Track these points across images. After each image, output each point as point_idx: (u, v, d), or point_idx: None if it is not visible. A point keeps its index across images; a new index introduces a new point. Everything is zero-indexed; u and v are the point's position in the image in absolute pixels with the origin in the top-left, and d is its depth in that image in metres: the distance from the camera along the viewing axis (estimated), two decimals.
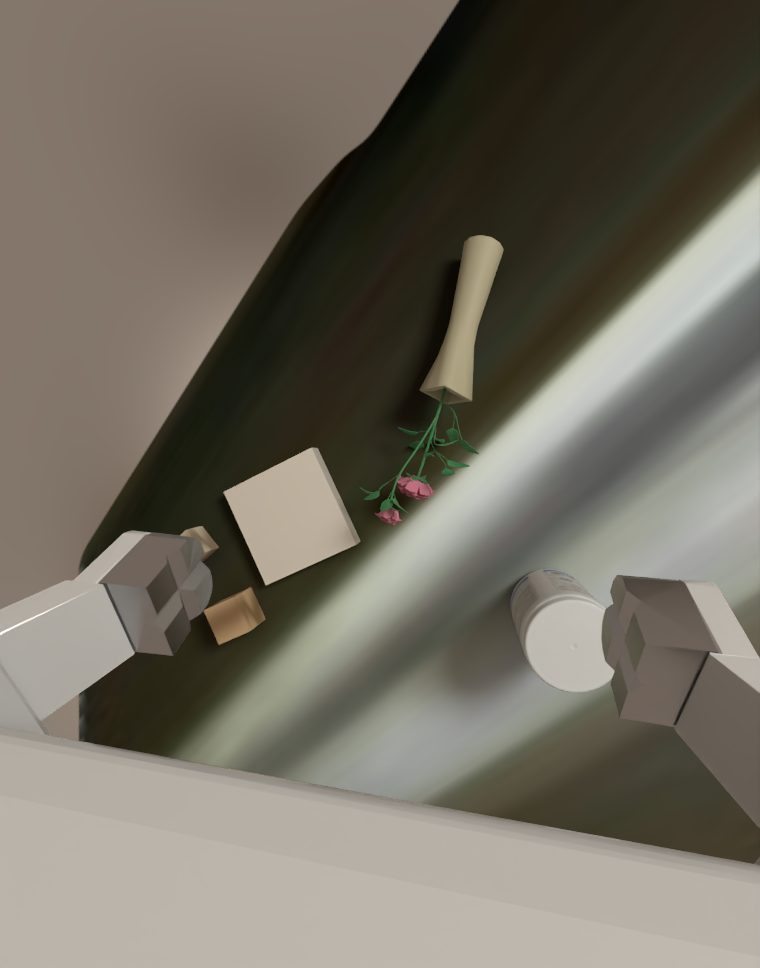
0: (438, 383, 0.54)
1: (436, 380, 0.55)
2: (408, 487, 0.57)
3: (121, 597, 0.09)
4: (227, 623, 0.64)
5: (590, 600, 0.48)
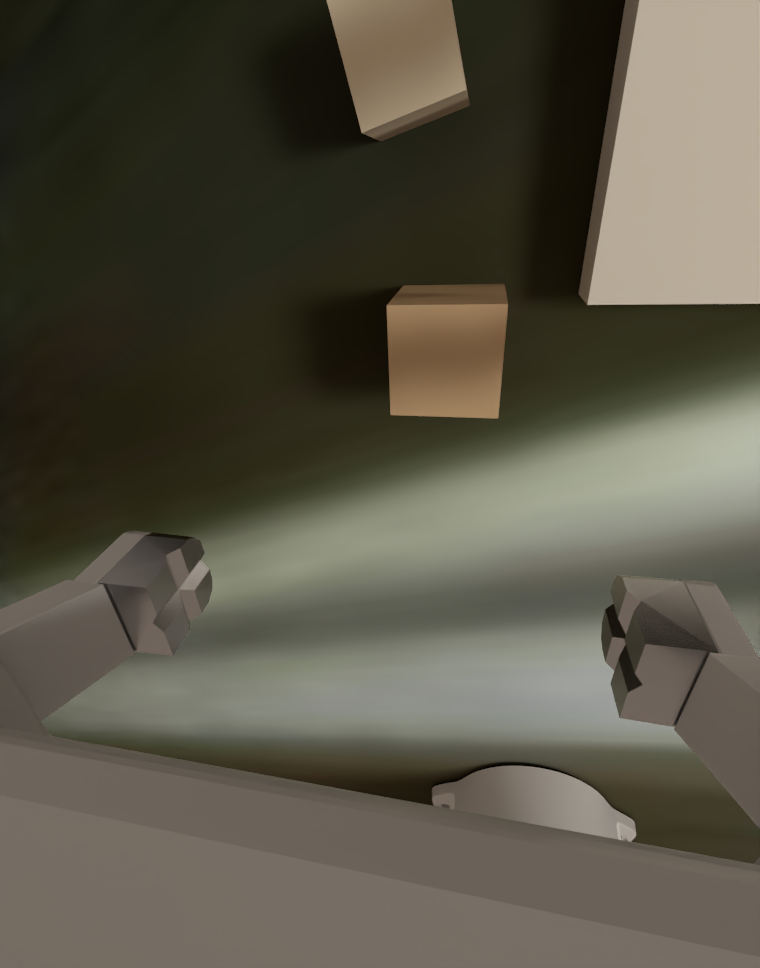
0: None
1: None
2: None
3: (121, 597, 0.09)
4: (442, 373, 0.22)
5: None
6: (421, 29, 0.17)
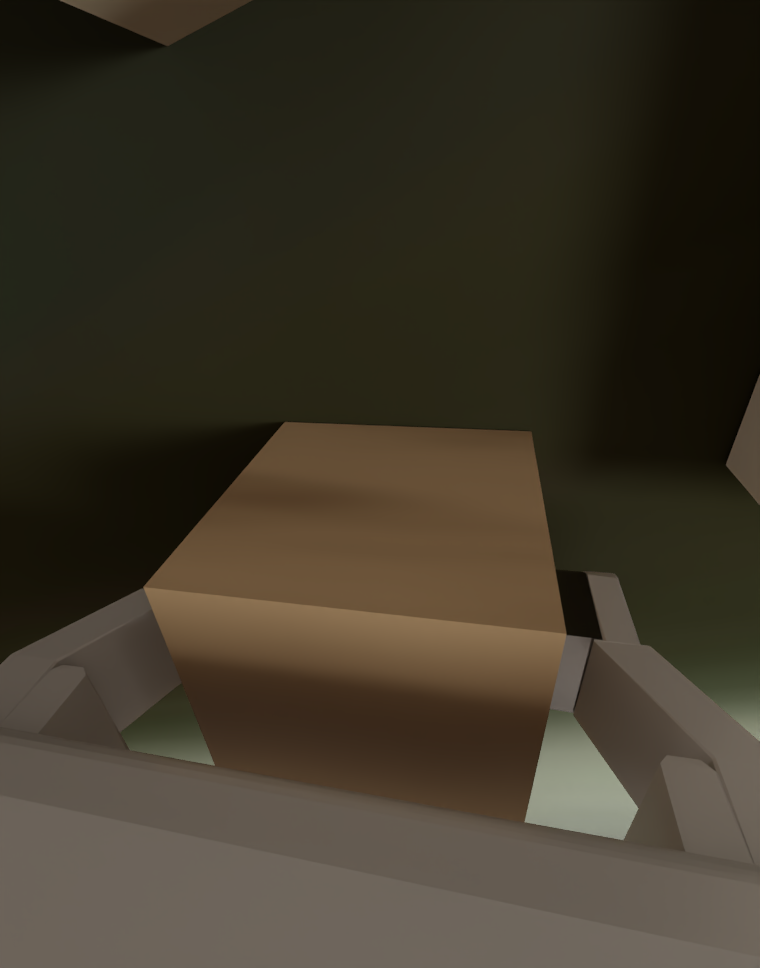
0: None
1: None
2: None
3: None
4: (350, 751, 0.07)
5: None
6: None
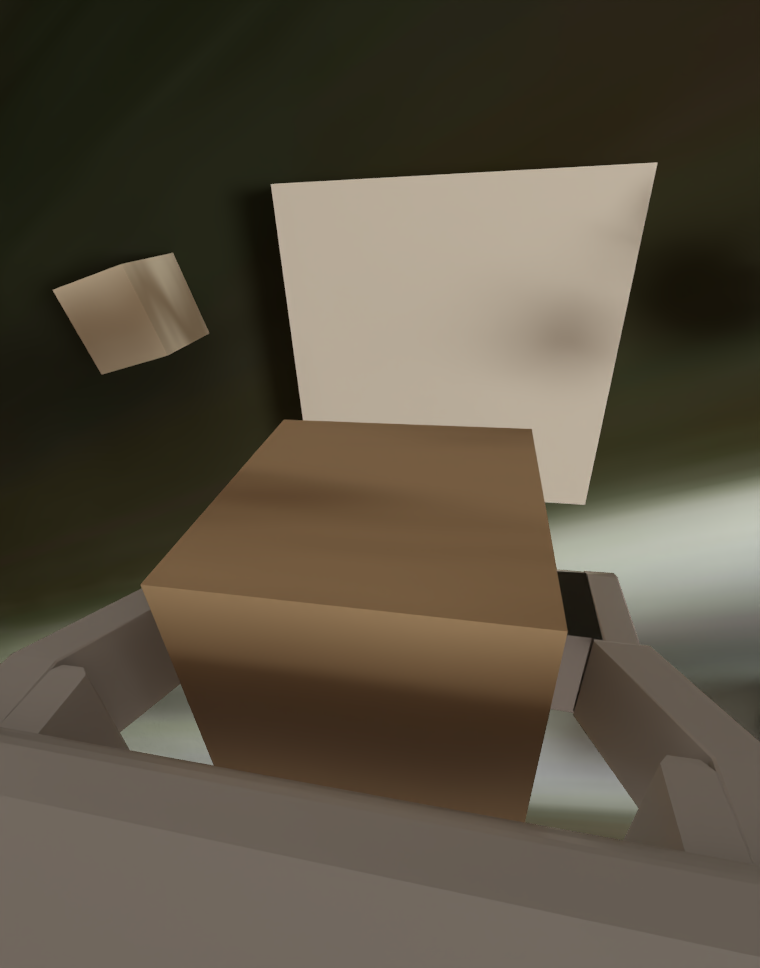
0: None
1: None
2: None
3: None
4: (349, 751, 0.07)
5: None
6: (125, 316, 0.22)
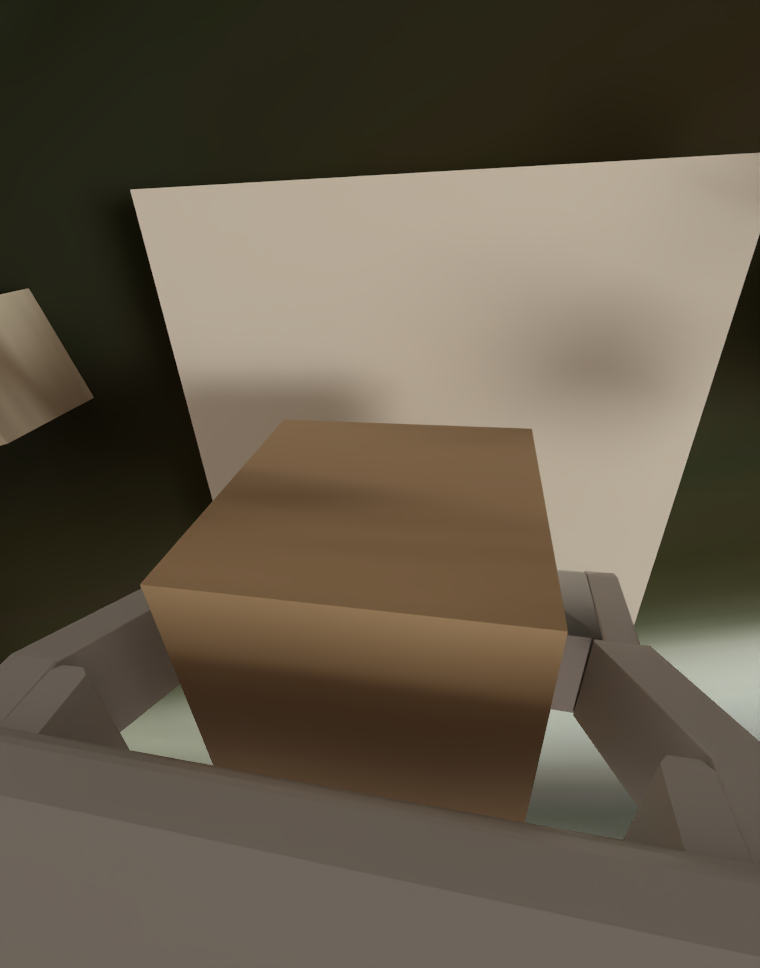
0: None
1: None
2: None
3: None
4: (349, 751, 0.07)
5: None
6: None
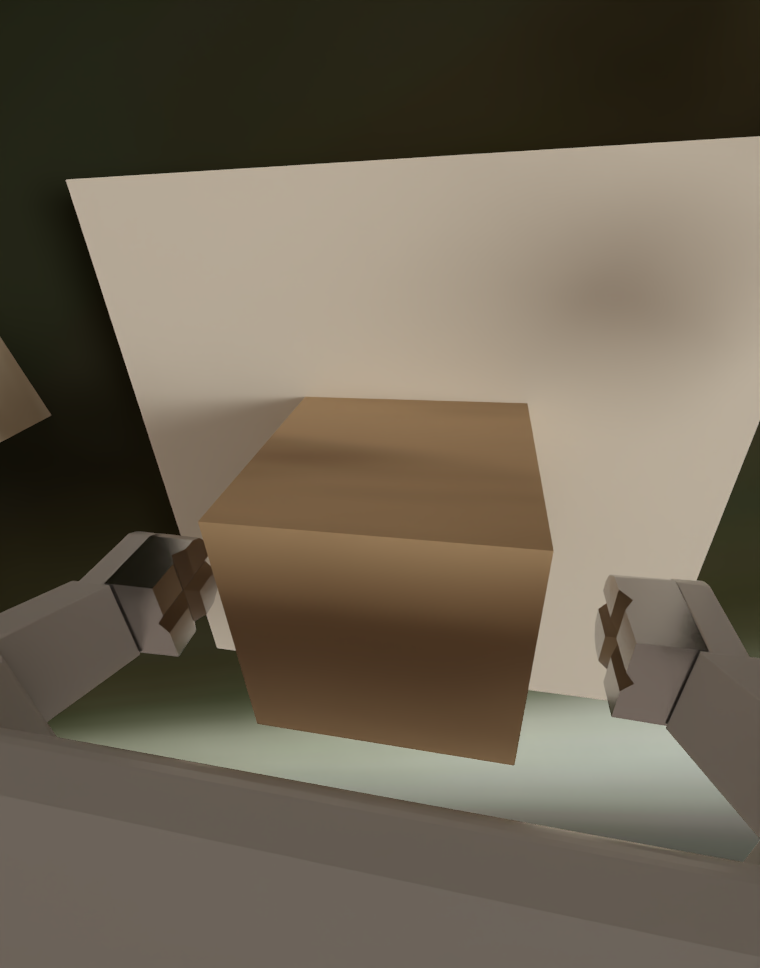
0: None
1: None
2: None
3: (127, 598, 0.09)
4: (369, 672, 0.08)
5: None
6: None
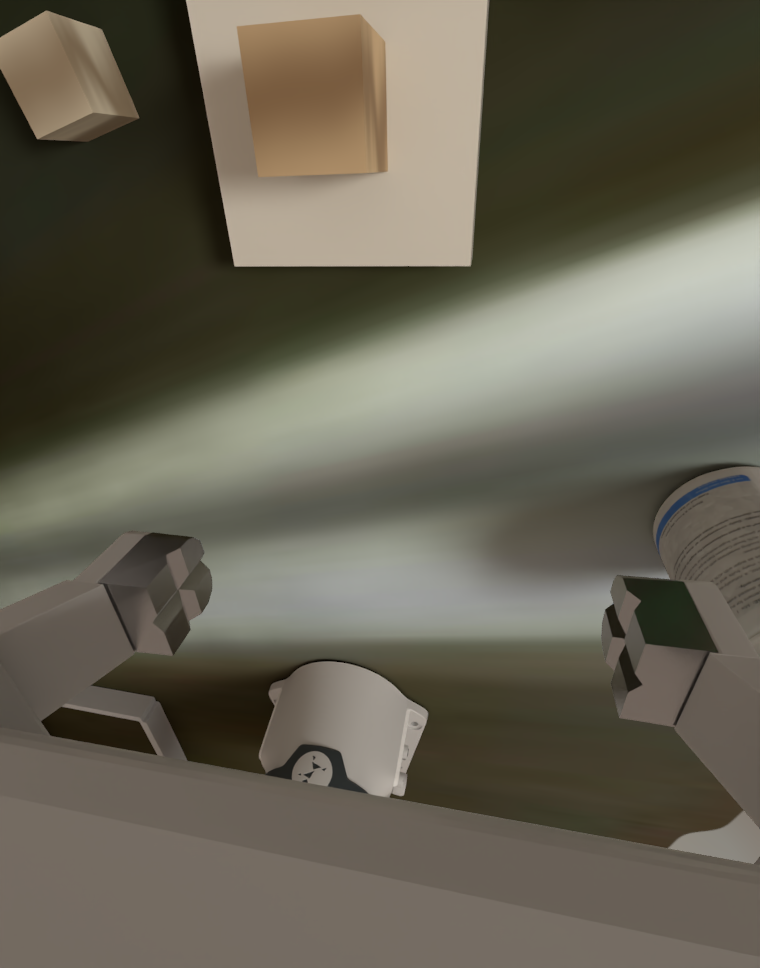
0: None
1: None
2: None
3: (121, 597, 0.09)
4: (303, 115, 0.20)
5: None
6: (53, 70, 0.24)
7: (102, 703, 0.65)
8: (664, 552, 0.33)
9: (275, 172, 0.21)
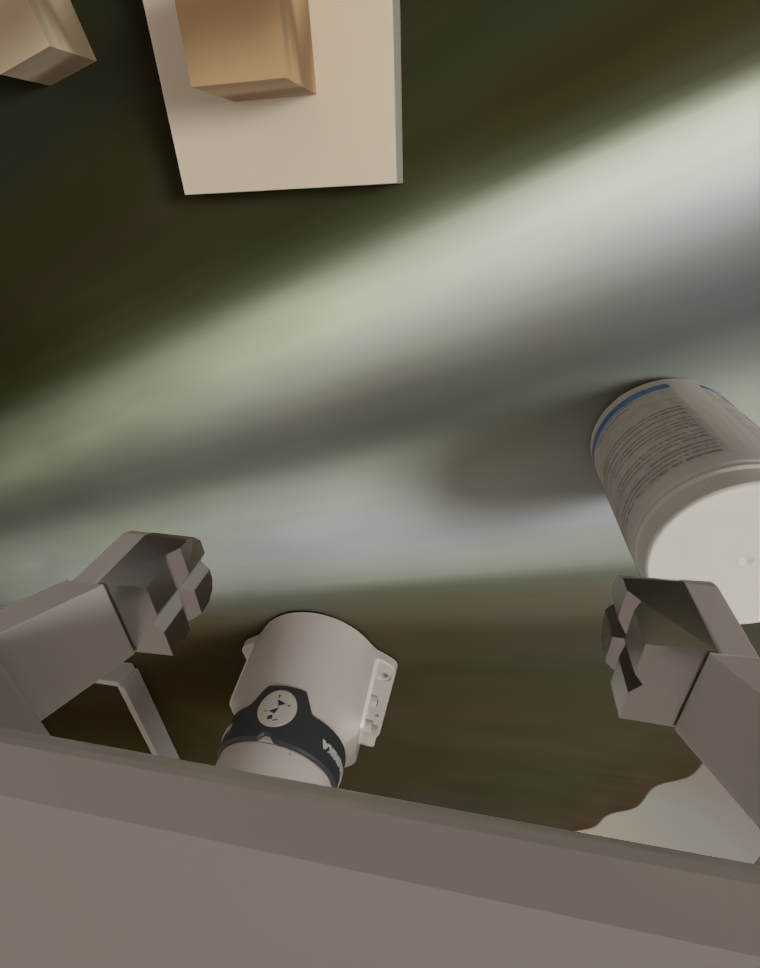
0: None
1: None
2: None
3: (121, 597, 0.09)
4: (227, 25, 0.23)
5: None
6: (13, 7, 0.27)
7: None
8: (597, 463, 0.35)
9: (206, 81, 0.24)
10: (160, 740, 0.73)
